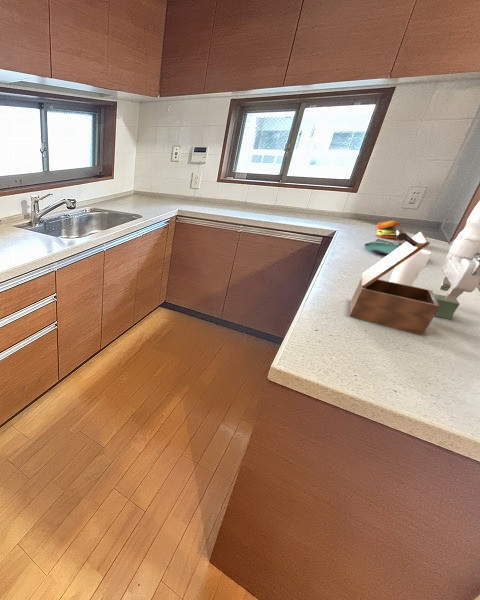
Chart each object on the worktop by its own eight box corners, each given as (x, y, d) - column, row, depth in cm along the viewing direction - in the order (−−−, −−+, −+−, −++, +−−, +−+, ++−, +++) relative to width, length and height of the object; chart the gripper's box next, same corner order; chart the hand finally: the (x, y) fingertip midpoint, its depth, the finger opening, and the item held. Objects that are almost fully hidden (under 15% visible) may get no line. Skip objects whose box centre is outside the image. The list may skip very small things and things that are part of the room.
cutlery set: (358, 251, 150) (360, 247, 149) (371, 240, 168) (373, 236, 167) (416, 263, 137) (419, 258, 136) (423, 250, 155) (426, 245, 154)
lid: (423, 233, 88) (404, 221, 89) (429, 243, 79) (409, 230, 80) (364, 275, 99) (348, 264, 100) (364, 288, 90) (347, 275, 91)
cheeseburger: (395, 240, 168) (398, 221, 165) (370, 240, 177) (372, 221, 175) (404, 238, 172) (407, 219, 170) (379, 238, 181) (381, 219, 179)
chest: (416, 317, 95) (432, 290, 91) (422, 335, 86) (439, 306, 82) (350, 301, 103) (362, 275, 99) (349, 316, 94) (362, 288, 90)
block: (447, 312, 98) (456, 298, 95) (450, 319, 94) (459, 304, 92) (424, 307, 100) (432, 293, 98) (426, 313, 97) (435, 298, 95)
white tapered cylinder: (403, 290, 111) (426, 249, 104) (412, 298, 106) (436, 255, 99) (379, 287, 114) (399, 246, 107) (386, 294, 108) (408, 251, 101)
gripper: (503, 262, 79) (469, 311, 86) (481, 244, 94) (454, 287, 100) (466, 256, 83) (436, 304, 89) (451, 239, 97) (426, 281, 103)
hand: (445, 295), depth 95 cm, fingers open, 8 cm apart
